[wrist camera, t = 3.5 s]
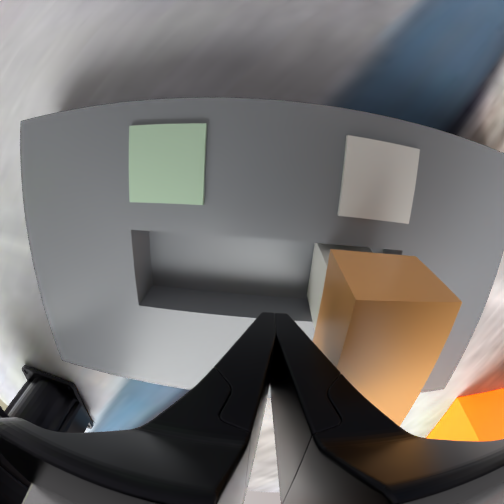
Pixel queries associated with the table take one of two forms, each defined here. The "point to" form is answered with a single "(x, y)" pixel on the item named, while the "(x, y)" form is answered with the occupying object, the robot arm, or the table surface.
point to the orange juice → (473, 418)
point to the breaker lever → (379, 321)
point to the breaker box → (239, 222)
